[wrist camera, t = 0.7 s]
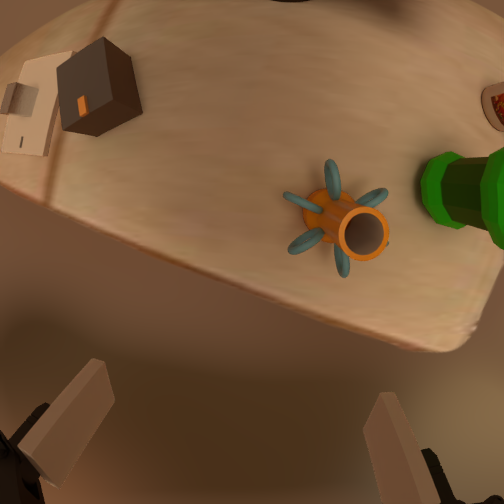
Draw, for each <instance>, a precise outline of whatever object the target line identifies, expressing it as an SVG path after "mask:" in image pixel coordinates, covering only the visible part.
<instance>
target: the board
mask: <svg viewBox="0 0 504 504" xmlns="http://www.w3.org/2000/svg"><path fill="white" fill-rule="evenodd" d="M75 54H76V52H74V51H68V52H63V53H58V54H53V55H48V56H44V57H39V58H35V59H31V60H28V61H25V63H24V66H23V68H22V71H21V74H20V77H19V80H18V83H17V82H16V83H11V84H8V85H7V88H6V91H5V95H4V98H3V102H2V105H1V109H0V114H6V115H8V119H7V123H6V128H5V132H4V137H3V143H2V149H1V152H7V153H18V154H28V155H38V156H48V151H49V146H50V141H51V136H52V131H53V127H54V123H55V119H56V115H57V111H58V107H59V98H58V87H57V72H56V68H57V67H58V66H59V65H61V64H62V63H63V62H65V61H66V60H68V59H69V58H70V57H72V56H73V55H75Z"/></svg>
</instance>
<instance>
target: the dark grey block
mask: <svg viewBox="0 0 504 504" xmlns="http://www.w3.org/2000/svg"><path fill="white" fill-rule="evenodd" d="M56 72H57V87H58V98H59V107H60V115H61V123H62V130H63V131H69V132H75V133H80V134H85V135H91V136H96V137H98V136H99V135H101V134H103V133H105V132H107V131H109V130H110V129H112V128H114V127H116V126H118V125H120V124H122V123H124V122H126V121H128V120H130V119H132V118H134V117H136V116H138V115H141V114H143V112H142V108H141V104H140V99H139V95H138V91H137V86H136V81H135V77H134V72H133V67H132V62H131V57H130V56H128V55H127V54H126V53H125V52H123V51H122V50H121V49H119V48H118V47H117V46H115V45H114V44H113V43H112V42H110V41H109V40H108V39H106V38H105V37H101V38H100V39H98V40H96V41H95V42H93V43H92V44H90V45H88V46H87V47H85V48H84V49H82V50H81V51H79V52H78V53H76V54H75V55H73V56H72V57H70V58H69V59H68V60H66V61H65V62H63V63H62V64H61V65H59V66H58V67H57V68H56Z"/></svg>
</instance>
